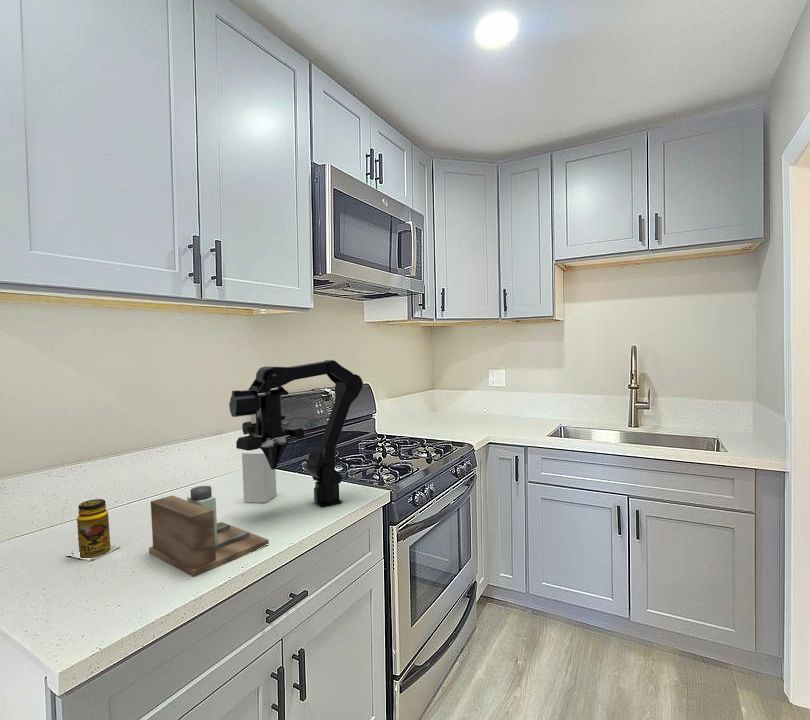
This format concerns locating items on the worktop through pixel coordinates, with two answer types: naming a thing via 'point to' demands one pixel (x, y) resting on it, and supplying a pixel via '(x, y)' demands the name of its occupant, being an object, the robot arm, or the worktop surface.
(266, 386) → the robot arm
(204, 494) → the pale green capped bottle
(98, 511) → the condiment
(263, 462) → the milk carton
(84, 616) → the worktop surface
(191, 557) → the knob mount
